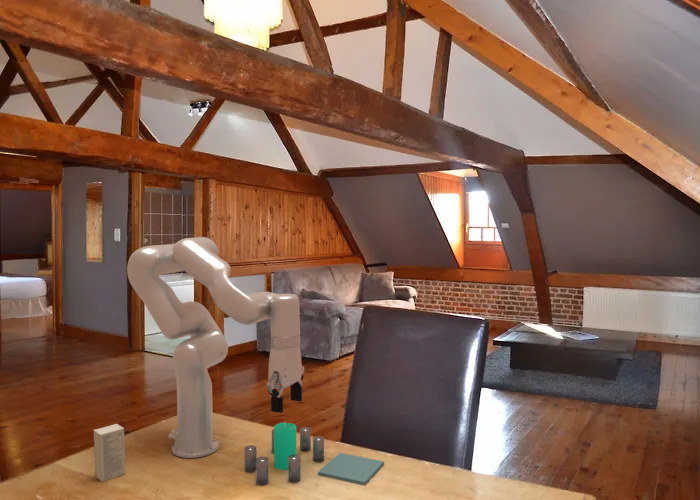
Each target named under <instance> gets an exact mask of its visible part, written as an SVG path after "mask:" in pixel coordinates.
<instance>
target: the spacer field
mask: <svg viewBox="0 0 700 500" xmlns="http://www.w3.org/2000/svg"><path fill="white" fill-rule="evenodd" d="M311 428H312V427H309V426H303V427H300V428H299V451H300V452H304V453H306V452H307V453H308V452H309V451H311V450H312V461H313V462H314V463H323V462H324V461H325V438H324V437H323V436H321V435H317V436H313V437H312V436H311V434H312V430H311ZM311 438H312V439H311ZM311 441H312V443H311ZM311 444H312V446H311ZM311 447H312V449H311ZM271 453H272V454H274V428H273V429H272V430H271ZM287 471H288V473H287V475H288V476H287V477H288V478H287V479H288V480H287V481H288V482H289V483H291V484H296V483H299V482H300V481H301V455H300V454H297V453H296V454H292V455H289V456H288V470H287ZM244 472H245V473H247V474H251V473H255V475H256V476H255V479H256V480H255V481H256V482H255V483H256V485H258V486H266V485H268V484H269V457H268V456H263V455H262V456H258V457H257V446H256V445H246V446H245V447H244Z"/></svg>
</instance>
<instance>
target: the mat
mask: <svg viewBox="0 0 700 500" xmlns="http://www.w3.org/2000/svg"><path fill="white" fill-rule="evenodd" d="M384 465H385V461H383V460H379V459H373V458H368V457H363V456H359V455H353V454H349V453H348V454H347V453H343V452H339V453H338V454H337V455H335V456H334V457H333V458H332V459H331V460H329V462H327V464H325V465H324V466H323V467H322V468H321V469H319V470H318V472H317V475H318V476H320V477H326V478H329V479H334V480H339V481H345V482H347V483H353V484H356V485H363V486H366V484H367V483H368V482H370V480H371V479H372V478H373V477H374V476H375V475H376V473H378V471H379V470H380V469H381V468H382V467H383V466H384Z"/></svg>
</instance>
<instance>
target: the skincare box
mask: <svg viewBox="0 0 700 500" xmlns="http://www.w3.org/2000/svg"><path fill="white" fill-rule="evenodd" d="M125 446H126V445H125V428H124V426H121V425H120V424H118V423H114V424H111V425H107V426H104V427H99V428H96V429H93V447H94V451H93V452H94V475H95V478H97V479H98V480H99V481H101V482H104V481H107V480H110V479H113V478H117V477H120V476H122V475H125V474H126V454H125V453H126V452H125V451H126V449H125Z"/></svg>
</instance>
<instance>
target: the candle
mask: <svg viewBox="0 0 700 500" xmlns="http://www.w3.org/2000/svg"><path fill="white" fill-rule="evenodd" d="M273 429H274V453H273V467H274V469H276V470H279V471H288V456H289V455H292V454H297V425H296V424H295V423H290V422H287V421H286V420H285V421H284V422H280V423H277V424H275V425H274V426H273Z"/></svg>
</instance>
